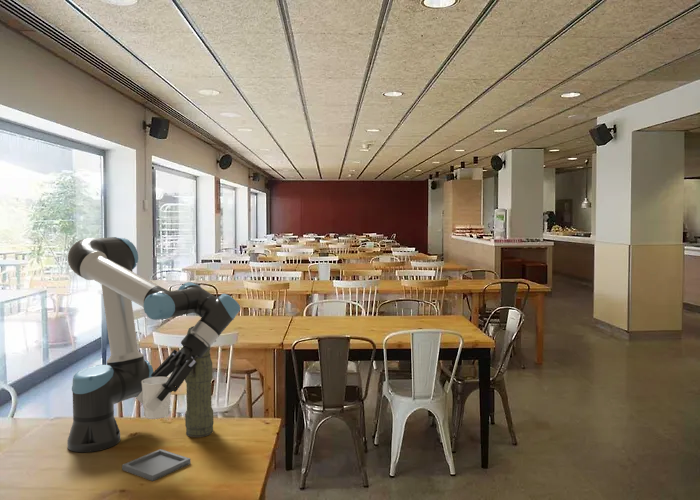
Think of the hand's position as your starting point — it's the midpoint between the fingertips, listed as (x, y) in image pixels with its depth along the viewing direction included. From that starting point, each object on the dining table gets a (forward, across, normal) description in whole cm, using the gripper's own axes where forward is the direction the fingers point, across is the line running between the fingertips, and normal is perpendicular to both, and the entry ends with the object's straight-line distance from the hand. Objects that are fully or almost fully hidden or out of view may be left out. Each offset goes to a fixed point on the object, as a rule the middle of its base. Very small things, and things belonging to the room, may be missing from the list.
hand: (144, 404), depth 156 cm
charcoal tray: (+11, 0, -15) cm, 19 cm away
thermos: (-3, +18, -30) cm, 35 cm away
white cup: (0, 0, -5) cm, 5 cm away
